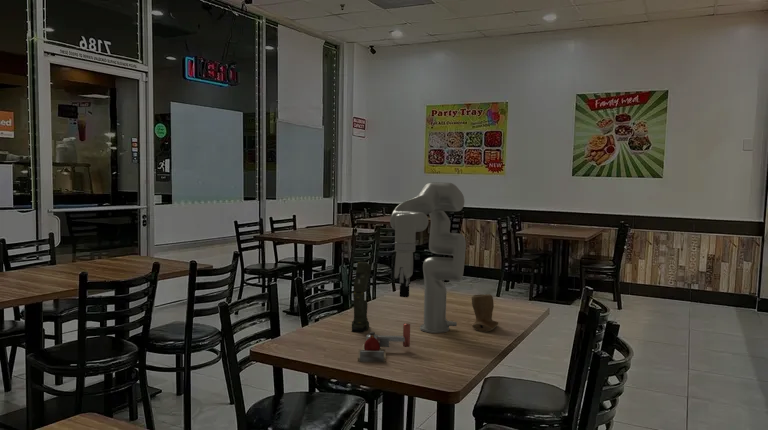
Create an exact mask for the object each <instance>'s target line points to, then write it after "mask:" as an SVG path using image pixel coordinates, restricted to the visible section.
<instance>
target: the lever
mask: <svg viewBox="0 0 768 430" xmlns="http://www.w3.org/2000/svg"><path fill="white" fill-rule="evenodd" d="M402 329H403V330H402V335H383V334H382V335H379V334H376V333H375V335H373V336H374V338H376V339H377V340H378V342H379V344H380V347H381V348H389V347H390V342H397V343H398V342H399V343H400V342H401V343H402V347H404V348H410V347H411V323H405V322H404V323H403V327H402ZM365 336H366V340H367V339H369V338H370V337H371V336H372V335H370V333H368V334H366V335H365ZM366 340H365V341H366Z"/></svg>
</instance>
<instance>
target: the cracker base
mask: <svg viewBox="0 0 768 430" xmlns="http://www.w3.org/2000/svg"><path fill="white" fill-rule="evenodd" d="M369 334H370V335H375V334H376V333H375V332H374V331H370V332H369ZM364 344H365V343H363V344H362V348H358V351H357V362H367V363H369V362H372V363H373V362H375V363H376V362H377V363H379V362H381V363H382V362H383V363H385V362H387V355H386V352H387V351H386V349H383V348H382V347H380V350H379V351H365V350H364Z"/></svg>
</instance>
